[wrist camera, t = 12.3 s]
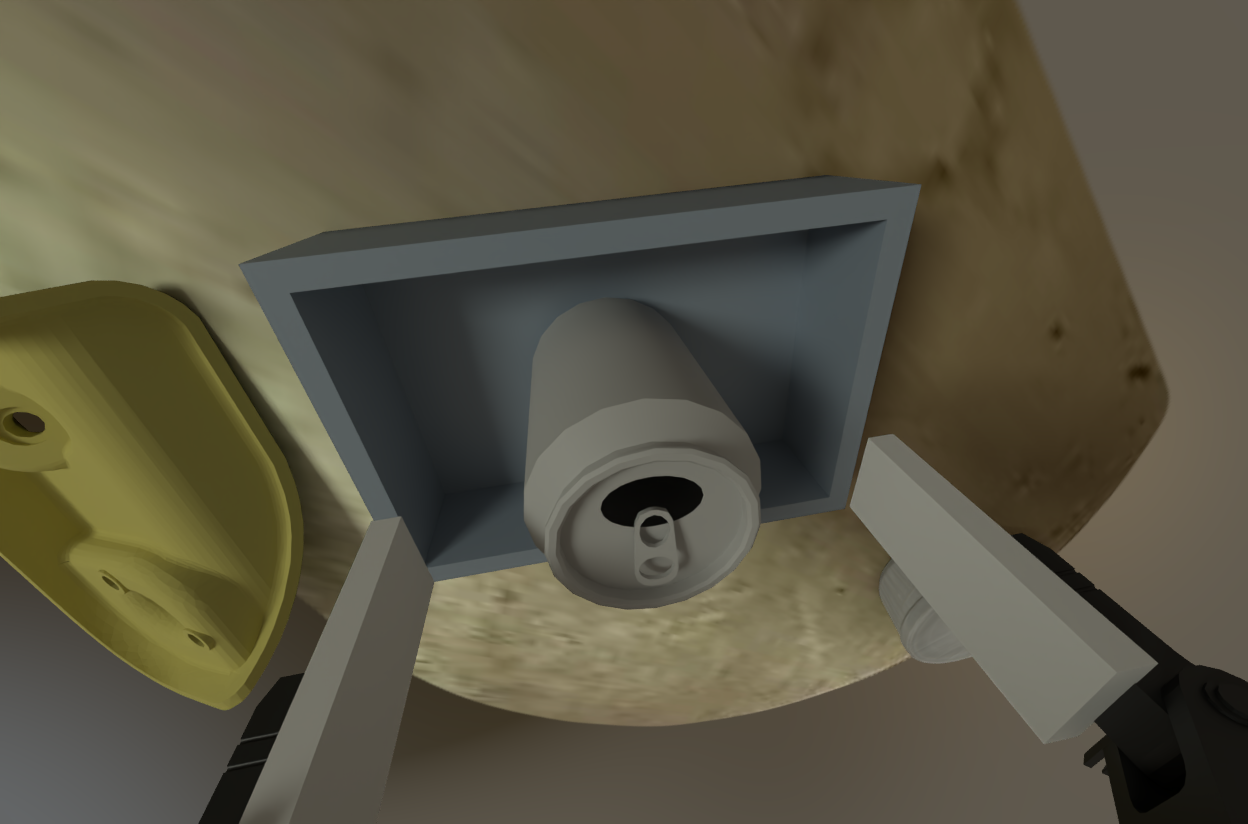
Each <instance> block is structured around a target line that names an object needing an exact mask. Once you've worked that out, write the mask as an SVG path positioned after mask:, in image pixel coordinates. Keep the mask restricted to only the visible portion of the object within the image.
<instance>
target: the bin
mask: <svg viewBox="0 0 1248 824" xmlns="http://www.w3.org/2000/svg"><path fill="white" fill-rule="evenodd" d="M920 188H921V184H911V183H901V182H891V181H881V180H871V179H861V178H851V177H840V176H830V175H824V176H815V177H806V178H797V179H788V180H779V181H771V182H762V183H753V184H744V185H735V186H726V187H717V188H709V189H700V190H691V191H682V192H673V193H664V194H655V195H647V196H638V197H629V198H620V199H611V200H602V201H593V202H585V203H576V204H567V205H558V206H549V207H540V208H532V209H523V210H514V211H505V212H496V213H487V214H478V215H470V216H461V217H452V218H443V219H434V220H425V221H416V222H408V223H399V224H390V225H381V226H372V227H363V228H354V229H346V230H337V231H328V232H322V233H320V234H317V235H315V236H312V237H309V238H307V239H304V240H301V241H299V242H296V243H293V244H291V245H288V246H285V247H283V248H280V249H278V250H275V251H272V252H270V253H267V254H264V255H262V256H259V257H256V258H254V259H251V260H249V261H246V262H243V263H241V264H239V266H240V268H241V270H242V272H243V274H244V276H245V278H246V280H247V281H248V283H249V285H250V287H251V289H252V291H253V293H254V295H255V297H256V298H257V300H258V302H259V304H260V306H261V308H262V310H263V312H264V314H265V316H266V317H267V319H268V321H269V323H270V325H271V327H272V329H273V331H274V333H275V334H276V336H277V338H278V340H279V342H280V344H281V346H282V348H283V350H284V351H285V353H286V355H287V357H288V359H289V361H290V363H291V365H292V367H293V369H294V370H295V372H296V374H297V376H298V378H299V380H300V382H301V384H302V386H303V387H304V389H305V391H306V393H307V395H308V397H309V399H310V401H311V403H312V404H313V406H314V408H315V410H316V412H317V414H318V416H319V418H320V420H321V421H322V423H323V425H324V427H325V429H326V431H327V433H328V435H329V437H330V439H331V440H332V442H333V444H334V446H335V448H336V450H337V452H338V454H339V456H340V457H341V459H342V461H343V463H344V465H345V467H346V469H347V471H348V473H349V474H350V476H351V478H352V480H353V482H354V484H355V486H356V488H357V490H358V491H359V493H360V495H361V497H362V499H363V501H364V503H365V505H366V507H367V509H368V510H369V512H370V514H371V516H372V518H373V520H374V521H377V520H382V519H388V518H394V517H400V516H401V517H402V519H403V521H404V523H405V525H406V527H407V529H408V531H409V533H410V535H411V537H412V539H413V541H414V543H415V545H416V546H417V548H418V550H419V552H420V554H421V556H422V558H423V560H424V562H425V564H426V566H427V568H428V570H429V572H430V574H431V576H432V578H433V580H434V582H436V581H441V580H447V579H453V578H458V577H464V576H469V575H475V574H481V573H486V572H492V571H497V570H503V569H509V568H514V567H520V566H525V565H531V564H537V563H542V562H548V561H547V559H546V556H545V554H544V553H542V552H541V551H540V550H539V549H538V548H537V547H536V546H535V544H534V541H533V539H532V537H531V535H530V532H529V530H528V528H527V526H526V524H525V521H524V482H525V467H526V453H527V438H528V423H529V408H530V393H531V378H532V363H533V356H534V354H535V351H536V349H537V346H538V343H539V341H540V338H541V336H542V335H543V333H544V332H545V331H546V330H547V329H548V328H549V326H550V325H551V324H552V323H553V322H554V320H555V319H556V318H557V317H558V316H560V315H561V314H563V313H565V312H566V311H568V310H570V309H571V308H573V307H575V306H576V305H578V304H579V303H584V302H588V301H592V300H596V299H600V298H604V297H608V298H621V299H631V300H634V301H636V302H639V303H641V304H643V305H646V306H648V307H650V308H653V309H654V310H655V311H656V312H658V313H659V314H660V315H661V316H662V317H663V318H664V319H665V320H666V321H668V322H669V323H670V324H671V325H672V327H673V328H674V330H675V331H676V333H677V334H678V335H679V337H680V338H681V340H682V341H683V343H684V344H685V346H686V347H687V348H688V350H689V351H690V353H691V354H692V356H693V357H694V358H695V360H696V361H697V363H698V364H699V366H700V367H701V368H702V370H703V371H704V373H705V374H706V376H707V377H708V378H709V380H710V381H711V383H712V384H713V386H714V387H715V388H716V390H717V391H718V393H719V394H720V396H721V397H722V398H723V400H724V401H725V403H726V404H727V406H728V407H729V408H730V410H731V411H732V413H733V414H734V416H735V417H736V418H737V420H738V421H739V423H740V424H741V426H742V427H743V428H744V430H745V431H746V433H747V434H748V436H749V438H750V440H751V442H752V444H753V446H754V448H755V450H756V452H757V454H758V457H759V459H760V469H761V490H760V493H759V498H760V511H761V523H767V522H772V521H778V520H784V519H789V518H795V517H800V516H806V515H812V514H817V513H823V512H828V511H834V510H840V509H845V506H846V502H847V497H848V493H849V489H850V485H851V480H852V476H853V472H854V468H855V464H856V459H857V455H858V451H859V447H860V442H861V438H862V434H863V430H864V425H865V421H866V417H867V413H868V408H869V404H870V400H871V396H872V391H873V387H874V383H875V379H876V374H877V370H878V366H879V362H880V358H881V353H882V349H883V345H884V341H885V336H886V332H887V328H888V324H889V319H890V315H891V311H892V307H893V302H894V298H895V294H896V290H897V285H898V281H899V277H900V273H901V268H902V264H903V260H904V256H905V251H906V247H907V243H908V239H909V235H910V230H911V226H912V222H913V218H914V213H915V209H916V205H917V201H918V196H919V192H920Z"/></svg>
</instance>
